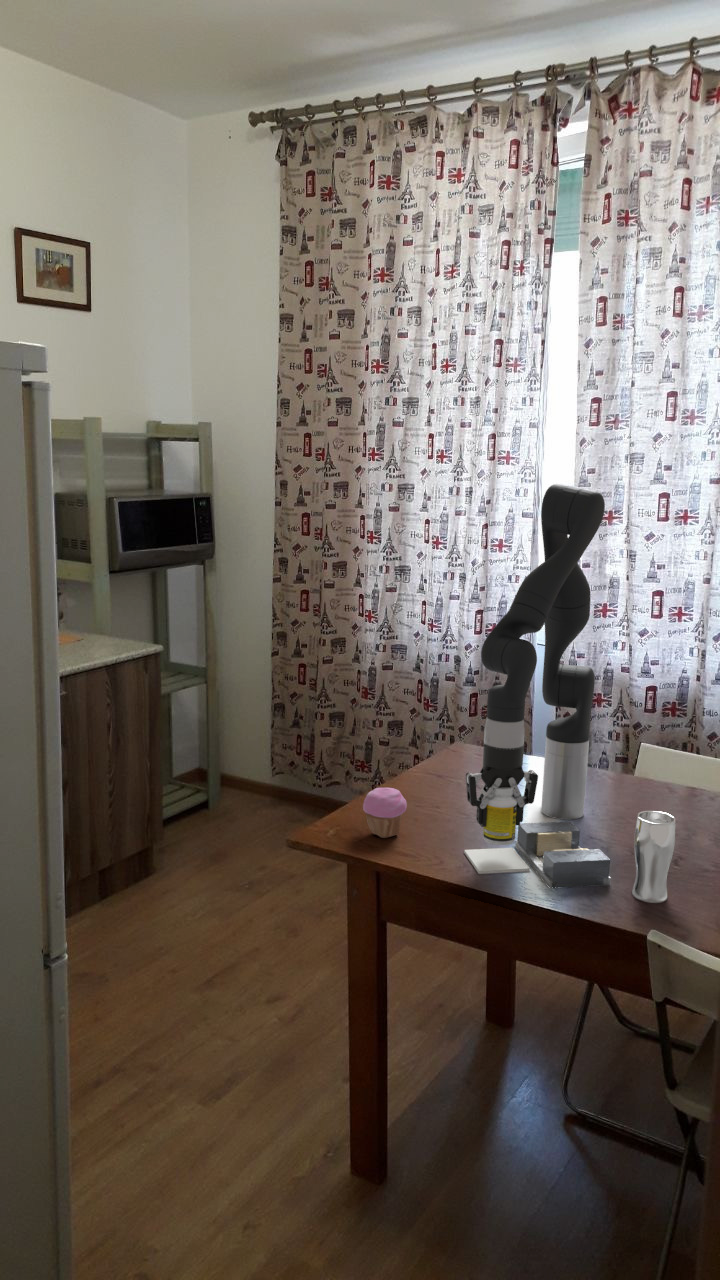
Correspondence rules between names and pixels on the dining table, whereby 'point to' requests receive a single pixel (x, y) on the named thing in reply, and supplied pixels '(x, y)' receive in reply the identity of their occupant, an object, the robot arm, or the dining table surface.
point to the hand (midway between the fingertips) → (499, 824)
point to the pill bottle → (501, 818)
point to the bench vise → (562, 855)
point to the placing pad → (496, 860)
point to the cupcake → (384, 811)
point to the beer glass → (653, 854)
